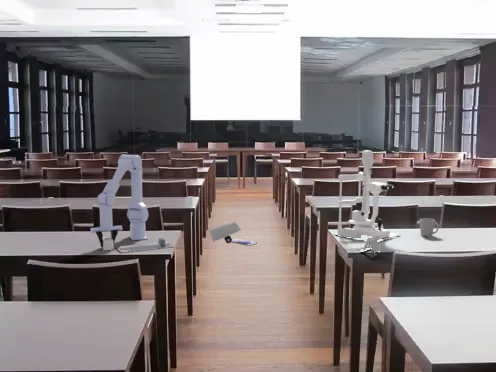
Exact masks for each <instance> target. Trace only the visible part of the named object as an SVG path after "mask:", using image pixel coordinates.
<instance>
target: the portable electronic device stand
mask: <svg viewBox="0 0 496 372" xmlns="http://www.w3.org/2000/svg"><path fill="white" fill-rule="evenodd" d="M381 238H382V236H381V235H376V236H373V237H369V238H368V239H367V241H366V242H365V244H364V246H363V247H360V248H359V249H358V251H359V250H361V249H363V250H365V249H366V248H370V247H371V248H373V249H372V250H373V253H374V256H377V255H378V254H375V252H377V251H381V249H380V246H379V243H378V242H377V240H379V239H381ZM369 242H371V243H370V244H371V245H369ZM377 253H378V252H377Z"/></svg>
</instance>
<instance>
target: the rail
mask: <svg viewBox="0 0 496 372" xmlns="http://www.w3.org/2000/svg"><path fill="white" fill-rule="evenodd" d="M118 247H119V249H120V250H130V251H135V252H143V250H144V251H152V250H151V249H153V250H159V249H158V248H162V249H169V248H168V247H172V248H174V247H175V246H174V245H172V244H171V242H169V241H166V240H165V239H164V238H163V237H159V238H158V242H151V243H150V242H148V243H141V244H140V243H139V244H130V245H122V246H121V245H120V246H118Z"/></svg>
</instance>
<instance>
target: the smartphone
mask: <svg viewBox="0 0 496 372" xmlns="http://www.w3.org/2000/svg"><path fill="white" fill-rule="evenodd" d="M231 239H232V242H231V243H232V244H237V245H242V246H245V247H246V246H247V247H252V246H254V245H257V244H258V242H257V241H253V240H247V239H242V238H237V237H234V238H231Z"/></svg>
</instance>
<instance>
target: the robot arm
mask: <svg viewBox="0 0 496 372" xmlns="http://www.w3.org/2000/svg"><path fill="white" fill-rule="evenodd" d="M117 164H118V165H117V168H116V171H115V173H114V174H113V176H112V179H110V180H109V179H108V181H107V183H106V184H105V187H104V189H103V191H102V192H101V193H100V194H98V195H97V198H96V204H97V205H98V209H99V226H97V227H91V228H90V233H91V234H94V233H95V234H96V236H97V238H98V241H99V245H100V248H101V247H103V236H104V234H103V232H110V237H111V238H112V239H113V246H114V247H115V241H116V238H117V236H118V231H123V226H122V225H113V224H114V223H113V205H114V204H115V200H116V194H117V192H118V190H119V188H120V181H121V180H122V178H123V177H124V175H125V174H126V172H130V179H131V180H130V183H131V184H130V186H131V187H130V188H131V189H130V190H131V203H130V204H129V205H128V206H127V208H128V209H127V212H126V216H127V219H128V220H129V222H130V225H129V232H130V233H129V234H130V235H128V238H130V239H131V240H132V241H140V240H141V241H142V240H148V239H149V238H148V237H147V236H146V235H147V234H146V222H147V220H148V218H149V211H148V206H147V205H146V204H145V203H144V202H143V158H141V156H140V155H139V154H121V155H120V156H119V158H118V160H117Z"/></svg>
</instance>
